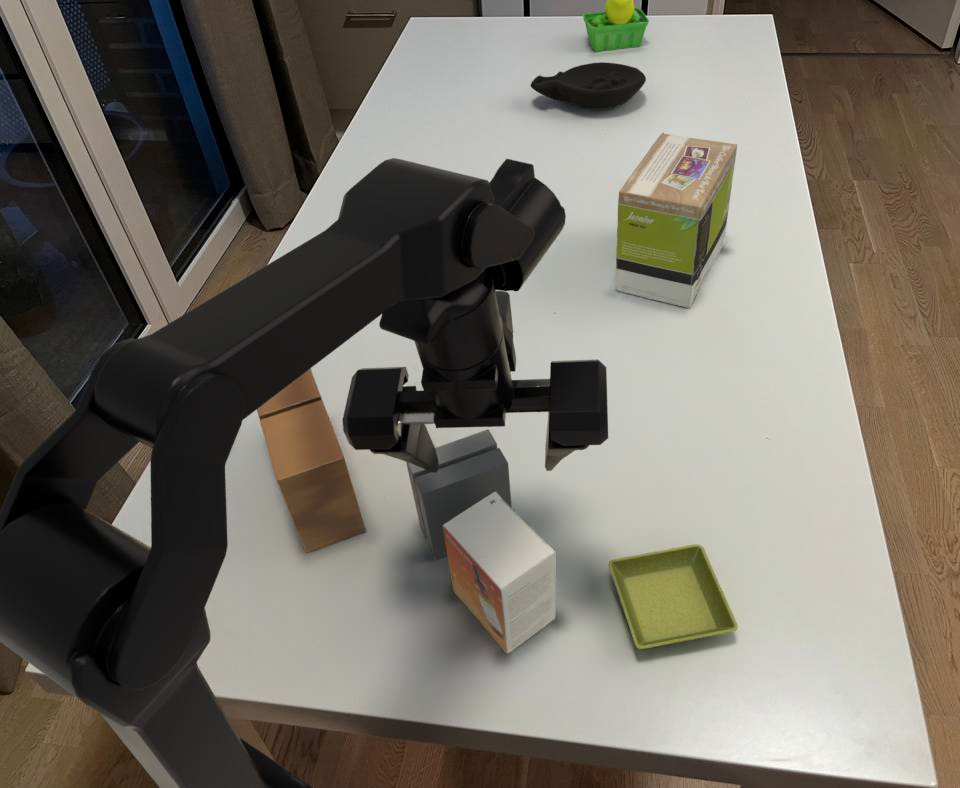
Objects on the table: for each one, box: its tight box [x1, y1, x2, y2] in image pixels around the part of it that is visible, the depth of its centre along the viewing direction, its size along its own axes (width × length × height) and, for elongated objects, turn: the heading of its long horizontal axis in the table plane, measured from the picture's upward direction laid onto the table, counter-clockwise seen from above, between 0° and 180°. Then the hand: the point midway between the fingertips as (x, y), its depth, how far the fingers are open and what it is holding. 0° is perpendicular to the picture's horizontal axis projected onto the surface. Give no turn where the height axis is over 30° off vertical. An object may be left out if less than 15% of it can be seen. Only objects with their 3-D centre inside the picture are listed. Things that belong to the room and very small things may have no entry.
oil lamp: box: [530, 61, 647, 110], centre depth 137 cm, size 15×20×5 cm
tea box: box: [614, 132, 738, 308], centre depth 98 cm, size 15×10×15 cm, turn 152°
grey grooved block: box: [405, 429, 513, 561], centre depth 73 cm, size 8×4×10 cm, turn 112°
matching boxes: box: [256, 368, 367, 554], centre depth 78 cm, size 6×16×11 cm, turn 22°
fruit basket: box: [582, 0, 650, 52], centre depth 151 cm, size 11×9×11 cm
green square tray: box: [607, 543, 739, 650], centre depth 68 cm, size 9×9×2 cm
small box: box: [443, 492, 557, 654], centre depth 67 cm, size 8×6×10 cm
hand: (491, 466), depth 64 cm, fingers open, 9 cm apart
